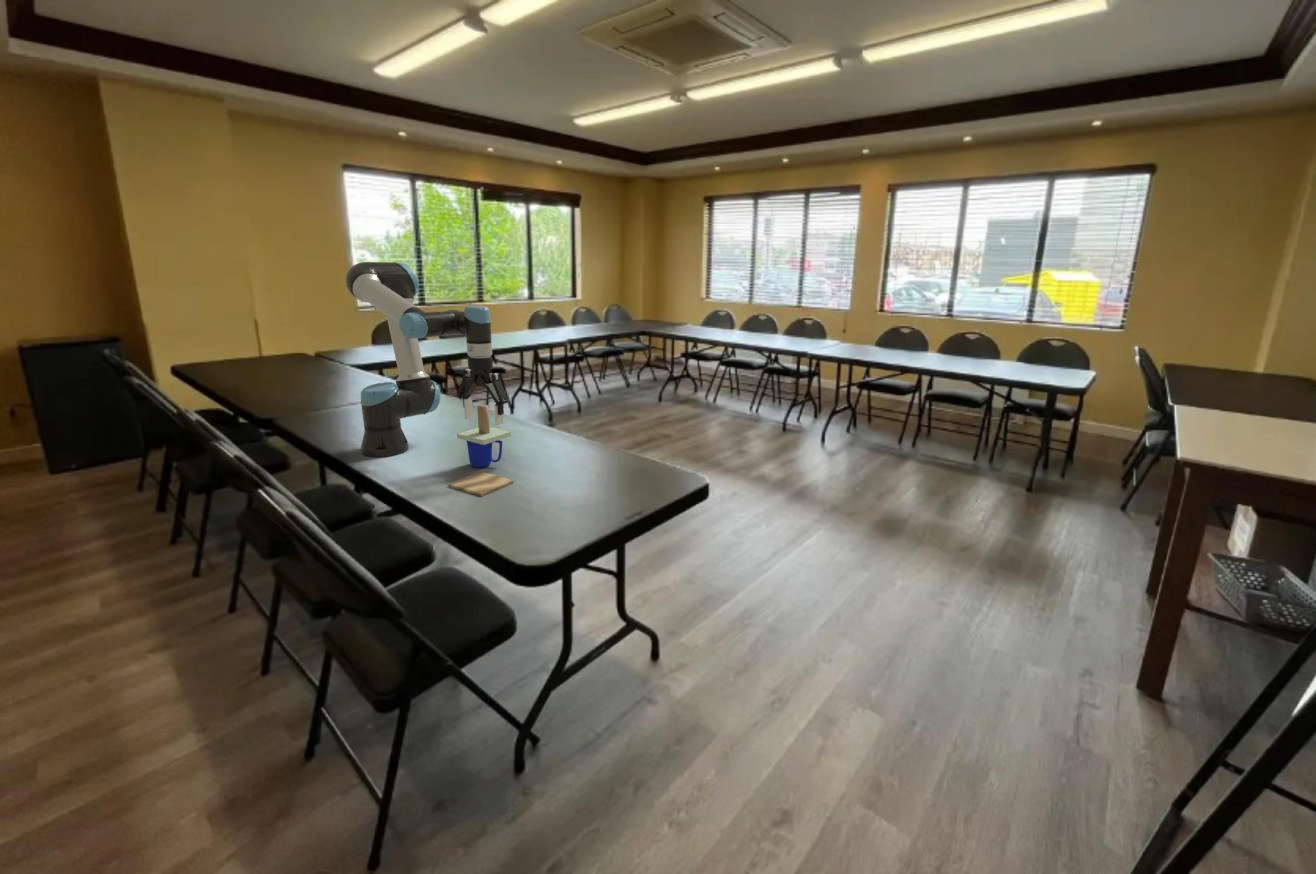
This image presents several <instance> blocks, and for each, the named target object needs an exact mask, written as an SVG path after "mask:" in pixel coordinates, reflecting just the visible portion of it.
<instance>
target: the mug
mask: <svg viewBox="0 0 1316 874" xmlns="http://www.w3.org/2000/svg"><path fill="white" fill-rule="evenodd" d="M493 443H498V444H499V447H498V457H497V459H493ZM466 446H467V451H468V458H469V459H468V460H469V463H470V465H471V466H472V467H474V468H485V467H488V466H490V465H491V463H497V462H499V461H500V460H501V459H502V455H503V441H502V440H501V439H500V440H497V441H494V442H491V443H488V444H485V445H482V444H479V443H475V442H471V441H467V440H466Z"/></svg>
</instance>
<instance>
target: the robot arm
mask: <svg viewBox="0 0 1316 874" xmlns="http://www.w3.org/2000/svg"><path fill="white" fill-rule="evenodd" d="M345 286H346V288H347V291H348V292H349V293H350V295H352V296H353V297H354V298H356V299H357V300H358V301H360V302H363V303H368V304H370V305H371V306H373V307H374V308H375V309H377V310H379V312H381V313H383V314H384V315H386V320H387V323H388V328H389V333H390V338H391V342H392V349H393V353H394V357H395V358H394V359H395V361H396V366H397V371H398V372H397V373H398V377H397V378H396V379H395V382H391V381H390V382H389V381H388V382H378V383H373V384H370V385H368V386H365V387H364V388H362V390H361V391H360V405H361V406H360V407H361V413H362V421H363V428H364V431H363V437H362V441H361V445H360V450H361V454H362V455H364V456H365V457H366V456H367V457H372V458H373V457H377V458H378V457H380V458H383V457H390V456H391V457H392V456H396V455H400V454H403V453H405V452H407V451H408V450H409V442H408V440H407V439H408V438H407V437H406V434H405V433H404V431H403V429H402V423H401V421H402V420H401V419H405V418H408V417H409V418H411V417H414V416H420V415H427V414H429V413H432V412H434V411H436V410H437V409H438V407H439V405H440V402H441V390H440V387H439V385H438V383H437V382H435V381H434V380H432V379H431V376H430V375H429V374H428V373H426V372H425V369H424V363H423V359H422V354H421V350H420V348H421V347H420V345H419V339H423V338H424V339H425V338H434V337H435V338H436V337H445V336H447V337H449V336H459V335H460V336H465V337H466V339H465V340H466V351H467V353H466V354H467V356H468V357H467V368H466V369H465V368H464V369H463V370H462V378H461V381H460V385H459V387H458V390H457V396H458V397H461V399H462V404H463V405H462V406H463V408H464V419H466V420H468V419H471V418H474V412H473V411H474V410H473V398H472V394H473V392H474V390H475V389H476V387H477V386H481V387H484V389H486V390H487V392H488V393H489V395H490V396H491V398H492V400H493V401H494V403H495V404H494V409H493V411H494V425H495V426H500V425H502V424H504V413H505V412H504V405H505V404H508V403H509V399H508V396H507V394H506V392H505V389H504V386H503V384H502V381H501V376H500V373H499V372H495V373H492V369H493V368H494V362H493V361H494V359H493V357H492V355H493V347H492V346H493V345H492V343H493V342H492V327H491V325H492V324H491V321H492V319H491V314H490V313H491V312H490V309H489V307H488V306H486V305H485V306H484V305H467V306H464V311H462V310H457V309H447V310H444V311H425V310H423V309H421V308H420V307H418V306H417V305H415V304H414V301H415V296H416V295H417V294H418V293H419V287H420V285H419V280H418V277H417V274H416V272H415V271H414V269H413V268H412V267H410V265H408V264H406V263H402V262H396V261H394V262H393V261H392V262H388V261H386V262H384V261H381V262H380V261H377V262H376V261H373V262H372V261H363V262H358V263H356V264H354V265H352V266H351V267H350V268H349V269H348V270H347V273H346V274H345Z"/></svg>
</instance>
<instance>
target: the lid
mask: <svg viewBox="0 0 1316 874" xmlns="http://www.w3.org/2000/svg"><path fill="white" fill-rule="evenodd" d="M489 415H490V413H489V405H488V404H480V405H477V424H478V426H477V427H475V428H472V429H469V430H465V431H462V432H459V433H456V437H457V439H459V440H463V441H466V442H467V441H471V442H475V443H479V444H482V445H485V444H488V443H491V442H493V443H495V442H494V441H497V440H500V441H501V440H503V439H506V438H509V437H512V431H510V430H505V429H501V428H497V427H492V426H490V416H489Z"/></svg>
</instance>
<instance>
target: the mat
mask: <svg viewBox="0 0 1316 874" xmlns="http://www.w3.org/2000/svg"><path fill="white" fill-rule="evenodd" d="M514 481H515V480H512V479H509V478H506V477H502V476H498V475H495V474H492V473H489V472H484V471H477V472H476V473H473V474H470V475H468V476H465V477H462V478H460V479H458V480H455V481H452V482H450V483H448V487H451V488H453V489H457V490H460V491H463V492H465V493H469V494H473V495H475V496H478V497H479V496H480V497H484V496H487V495H489V494H491V493H494V492H496V491H498V490H501V489H503V488H505V487H508V486H510V485H513V484H514Z"/></svg>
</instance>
